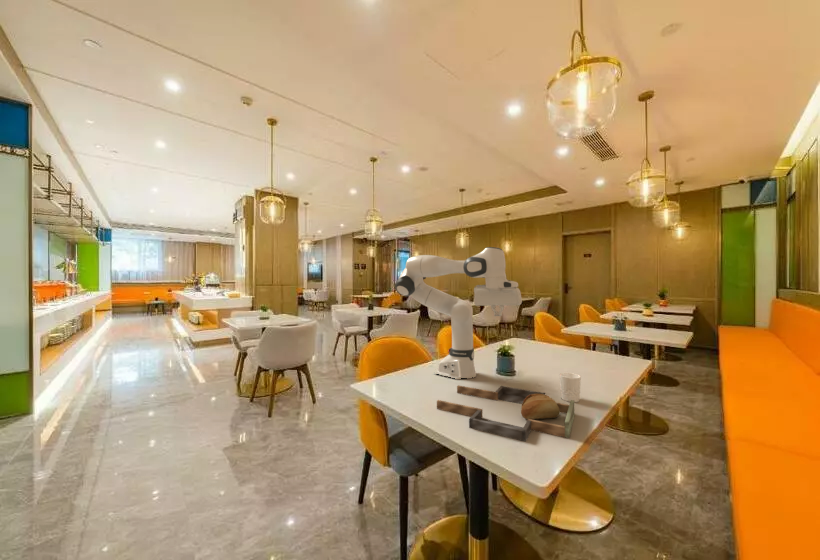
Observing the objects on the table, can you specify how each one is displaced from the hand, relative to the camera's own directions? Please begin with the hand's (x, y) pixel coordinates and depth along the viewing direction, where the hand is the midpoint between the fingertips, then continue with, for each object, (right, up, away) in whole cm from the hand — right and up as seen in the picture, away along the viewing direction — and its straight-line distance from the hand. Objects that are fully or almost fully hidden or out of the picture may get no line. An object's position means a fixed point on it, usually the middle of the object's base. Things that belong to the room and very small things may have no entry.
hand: (498, 316), depth 137 cm
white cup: (+29, -35, -4) cm, 45 cm away
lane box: (-2, -35, -16) cm, 38 cm away
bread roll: (+9, -35, -21) cm, 42 cm away
